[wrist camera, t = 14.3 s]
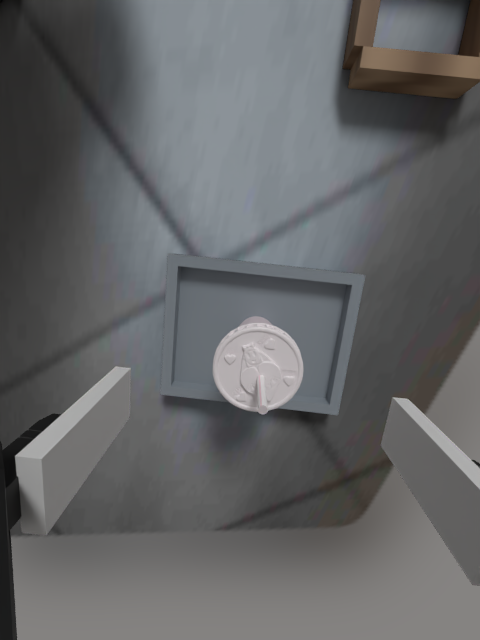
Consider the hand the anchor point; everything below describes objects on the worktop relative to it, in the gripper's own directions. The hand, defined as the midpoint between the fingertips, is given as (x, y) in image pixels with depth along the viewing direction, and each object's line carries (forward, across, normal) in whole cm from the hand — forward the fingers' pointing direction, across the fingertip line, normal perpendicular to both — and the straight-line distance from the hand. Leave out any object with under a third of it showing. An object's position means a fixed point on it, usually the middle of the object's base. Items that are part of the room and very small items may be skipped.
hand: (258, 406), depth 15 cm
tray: (+16, 0, -1) cm, 16 cm away
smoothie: (+16, 0, -1) cm, 16 cm away
